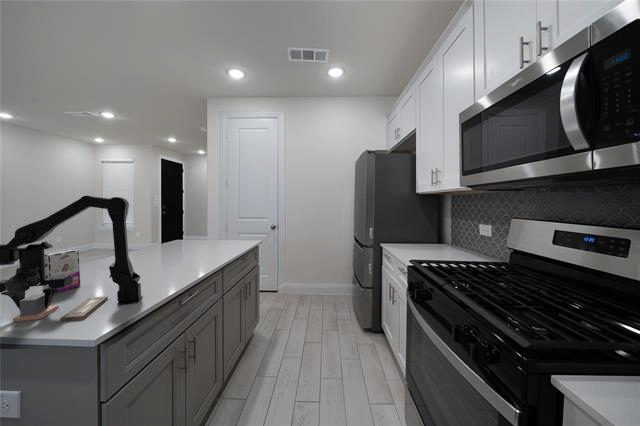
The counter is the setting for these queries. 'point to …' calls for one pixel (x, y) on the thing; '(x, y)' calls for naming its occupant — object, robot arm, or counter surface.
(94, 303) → the board
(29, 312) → the stub
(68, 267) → the candy bar box
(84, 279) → the counter surface
